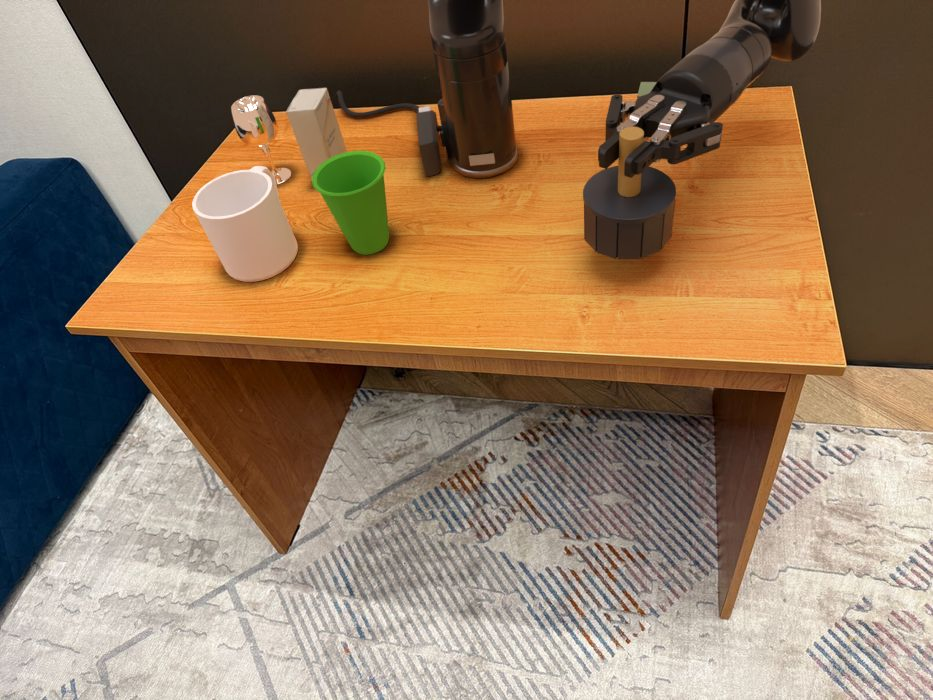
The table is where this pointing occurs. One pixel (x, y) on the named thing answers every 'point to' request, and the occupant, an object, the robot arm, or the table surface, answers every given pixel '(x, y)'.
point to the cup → (356, 198)
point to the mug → (246, 224)
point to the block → (645, 88)
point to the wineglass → (258, 129)
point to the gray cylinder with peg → (628, 207)
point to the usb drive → (429, 140)
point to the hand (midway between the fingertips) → (615, 164)
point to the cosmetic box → (315, 127)
